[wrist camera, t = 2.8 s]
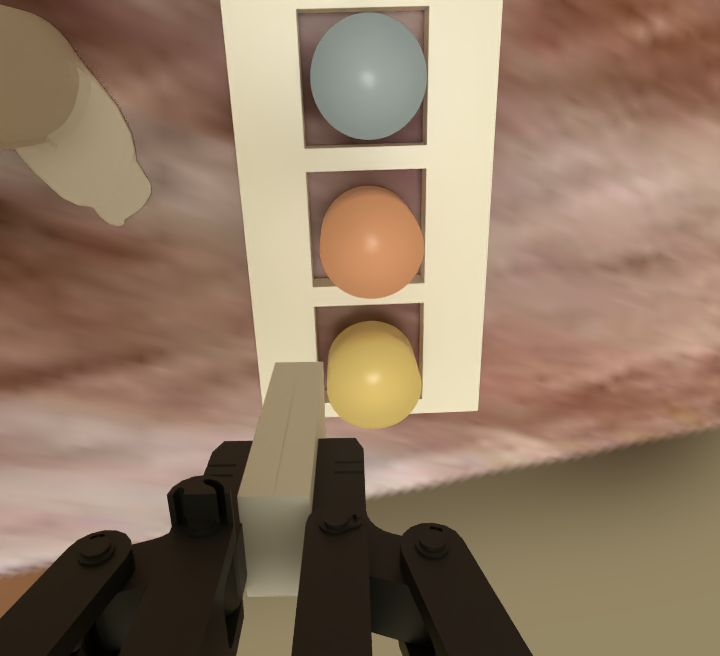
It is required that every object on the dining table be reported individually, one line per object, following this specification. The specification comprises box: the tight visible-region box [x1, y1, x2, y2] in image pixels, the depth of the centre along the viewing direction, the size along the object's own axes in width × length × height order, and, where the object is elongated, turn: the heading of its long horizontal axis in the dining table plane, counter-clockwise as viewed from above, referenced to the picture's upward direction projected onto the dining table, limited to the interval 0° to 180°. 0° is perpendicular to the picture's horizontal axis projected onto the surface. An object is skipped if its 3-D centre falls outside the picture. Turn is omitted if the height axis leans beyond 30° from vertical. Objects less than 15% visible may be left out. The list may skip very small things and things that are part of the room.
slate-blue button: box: [310, 12, 427, 140], centre depth 31 cm, size 6×6×4 cm
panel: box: [220, 0, 503, 417], centre depth 38 cm, size 16×28×2 cm, turn 1°
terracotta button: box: [320, 186, 424, 299], centre depth 35 cm, size 6×6×4 cm
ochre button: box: [327, 321, 422, 429], centre depth 38 cm, size 6×6×4 cm
